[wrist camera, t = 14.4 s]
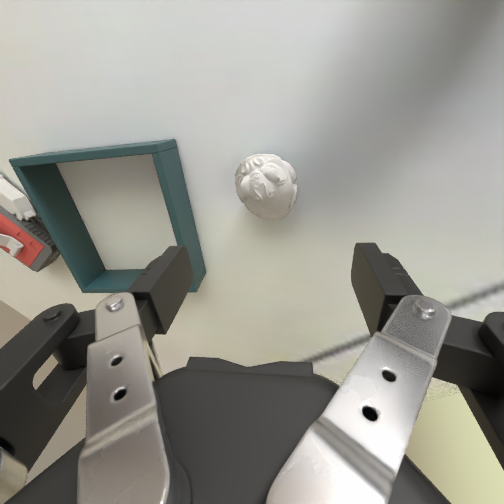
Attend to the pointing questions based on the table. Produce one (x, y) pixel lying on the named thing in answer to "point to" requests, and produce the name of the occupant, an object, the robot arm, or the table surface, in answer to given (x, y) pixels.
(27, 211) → the walkie-talkie
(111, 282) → the open box
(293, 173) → the white rounded figurine
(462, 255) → the table surface
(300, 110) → the table surface
